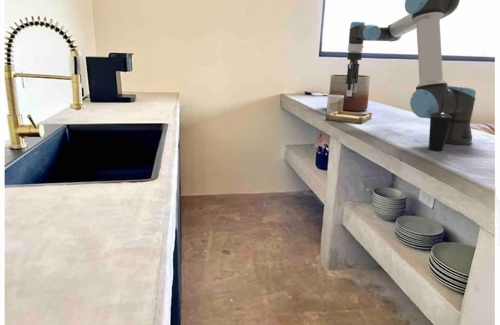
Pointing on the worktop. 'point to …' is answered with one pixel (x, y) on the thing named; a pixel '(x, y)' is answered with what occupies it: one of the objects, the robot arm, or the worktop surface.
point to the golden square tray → (349, 117)
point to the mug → (335, 103)
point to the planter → (362, 91)
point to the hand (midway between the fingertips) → (350, 95)
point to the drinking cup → (438, 129)
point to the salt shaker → (352, 91)
